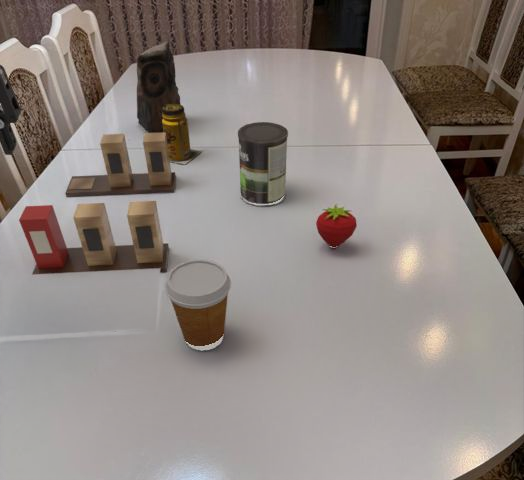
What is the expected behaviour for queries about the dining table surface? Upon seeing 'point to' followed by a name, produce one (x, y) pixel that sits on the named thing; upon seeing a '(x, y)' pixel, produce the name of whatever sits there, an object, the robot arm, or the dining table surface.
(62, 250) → the red labeled block
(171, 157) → the condiment
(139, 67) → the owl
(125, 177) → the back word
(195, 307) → the disposable coffee cup
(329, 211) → the strawberry
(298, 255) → the dining table surface
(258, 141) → the coffee can
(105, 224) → the front word
